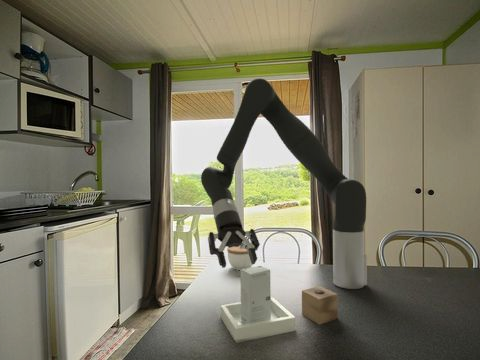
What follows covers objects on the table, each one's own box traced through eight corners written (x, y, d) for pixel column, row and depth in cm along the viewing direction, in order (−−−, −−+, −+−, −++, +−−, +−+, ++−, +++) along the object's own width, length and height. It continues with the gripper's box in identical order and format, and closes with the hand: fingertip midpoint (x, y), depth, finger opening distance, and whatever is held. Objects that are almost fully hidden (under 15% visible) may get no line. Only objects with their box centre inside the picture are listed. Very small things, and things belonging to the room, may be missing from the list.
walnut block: (319, 309, 77) (319, 285, 77) (337, 318, 71) (337, 293, 71) (302, 314, 74) (301, 290, 74) (319, 324, 68) (319, 298, 68)
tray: (272, 308, 77) (272, 296, 77) (295, 330, 66) (295, 317, 66) (220, 317, 72) (220, 305, 72) (236, 343, 61) (235, 328, 61)
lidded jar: (238, 262, 119) (238, 239, 119) (261, 267, 113) (260, 242, 113) (221, 269, 110) (221, 244, 110) (245, 274, 104) (244, 248, 104)
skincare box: (250, 328, 66) (249, 274, 66) (239, 320, 70) (239, 269, 69) (272, 321, 69) (271, 269, 69) (260, 313, 73) (260, 264, 73)
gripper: (205, 210, 86) (216, 260, 75) (251, 208, 90) (267, 254, 80) (202, 226, 91) (211, 274, 80) (245, 223, 95) (260, 268, 85)
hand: (239, 264), depth 80 cm, fingers open, 8 cm apart
